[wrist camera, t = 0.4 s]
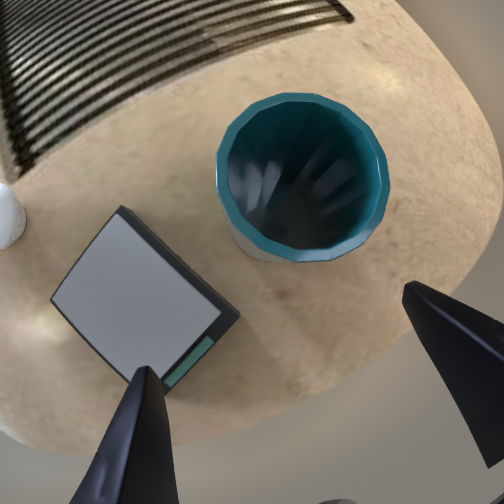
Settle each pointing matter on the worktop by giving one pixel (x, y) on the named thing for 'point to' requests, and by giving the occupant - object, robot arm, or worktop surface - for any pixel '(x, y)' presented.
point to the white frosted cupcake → (10, 217)
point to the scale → (141, 303)
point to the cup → (300, 179)
